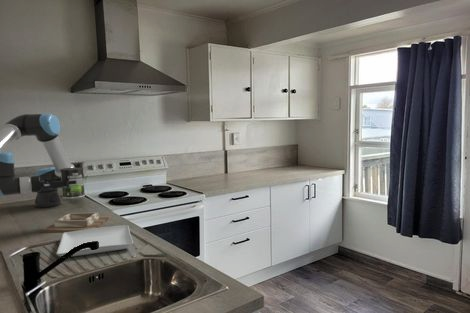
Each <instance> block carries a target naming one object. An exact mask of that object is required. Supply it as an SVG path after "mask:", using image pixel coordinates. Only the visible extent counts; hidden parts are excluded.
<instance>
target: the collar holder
mask: <svg viewBox="0 0 470 313" xmlns="http://www.w3.org/2000/svg"><path fill="white" fill-rule="evenodd" d="M110 217H112V216H111V215H100V212H98V211H97V212H93V211H92V212H69V213H67V214H64V216H62V217H60V218H57V219H56V220H54V223H52V224H50V225H48V226H46V227H44V228H42V229H41V230H40V232H41V233H65V232H72V231H78V230H85V229H93V228H100V227H101V226H102V225H103V224H105V223H106V222H107V221H108V220H110ZM106 220H107V221H106ZM105 221H106V222H105ZM101 224H102V225H101Z"/></svg>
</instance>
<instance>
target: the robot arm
mask: <svg viewBox="0 0 470 313" xmlns="http://www.w3.org/2000/svg"><path fill="white" fill-rule="evenodd" d="M60 125H61V122H60V120H59V118H58V117H57V116H56V115H54V114H53V113H30V114H29V113H27V114H20V115H18V116H16V117H13V118H12V119H10V120H8V121H7V122H5V124H3V125H2V127H1V129H0V196H3V197H4V196H12V195H18V194H19V195H20V194H21V195H22V194H23V195H24V196H25V195H27V194H29V193H36V196H35V200H34V207H35V208H51V207H56V206H59V205H61V204H62V203H63V200H62V197H61V196H60V192H59V189H62V187H64V186H66V187H69V185H80V184H84V185H85V178H84V179H83V178H82V179H71V180H61V171H60V169H63V168H73V167H75V165H74V164H73V163H71V162H70V160H69V157H68V156H67V154H66V151H65V149H64V147H63V144H62V143H61V140H60V138H59V135H60V133H61V128H62V127H61V126H60ZM27 136H30V137H31V136H34V137H35V138H36V140H37V141H38V142H40V143H42V145H43V147H44V149H45V151H46V153H47V155H48V158H49V159H50V160H51V163H52V165H53V166H51V167H45V168H40V169H37V170H36V171H35V175H33V176H31V177H30V176H19V177H16V173H15V160H14V153H12V152H10V151H5V150H6V149H7V148H8V147H10V145H12V143H13V142H14V141H17V140H19V139H20V138H21V137H22V138H23V137H27Z"/></svg>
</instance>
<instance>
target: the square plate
mask: <svg viewBox="0 0 470 313" xmlns="http://www.w3.org/2000/svg"><path fill="white" fill-rule="evenodd" d="M92 241H98V242H99V248H98V249H97V250H91V249H90V248H86V249H82V250H80V251H78V252H77V253H75V254H74V255H73V256H71V257H78V256H88V255H93V254H94V255H95V254H100V253H108V252H115V251H119V250H125V249H128V248H130V247H131V246H132V245H133V244H134V240H133V237H132V235H131V231H130V226H129V225H128V224H125V225H124V224H123V225H111V226H103V227H101V226H100V227H98V228H93V229H85V230H78V231H72V232H62V235H61V239H60V241H59V245H58V248H57V250H56V253H55V254H56V255H57V256H58V257H60V258H62V257H61V256H63V255H64V254H66V253H68V252H69V251H70V250H71V249H73V248H74V247H77V246H79V245H81V244H83V243H87V242H92ZM71 257H70V258H71Z"/></svg>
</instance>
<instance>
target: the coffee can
mask: <svg viewBox="0 0 470 313" xmlns="http://www.w3.org/2000/svg"><path fill="white" fill-rule="evenodd" d="M60 171H61V180H71V179H82V178H83V179H84V180H85V178H84V177H85V176H84V175H85V174H84V167H78V166H77V167H75V166H74V167H73V168H63V169H60ZM61 194H62V197H61V199H65V200H67V199H68V200H72V199H80V198H84V197H85V196H86V195H85V183H84V184H80V185H69V187H66V186H64V187H62V188H61Z"/></svg>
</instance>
